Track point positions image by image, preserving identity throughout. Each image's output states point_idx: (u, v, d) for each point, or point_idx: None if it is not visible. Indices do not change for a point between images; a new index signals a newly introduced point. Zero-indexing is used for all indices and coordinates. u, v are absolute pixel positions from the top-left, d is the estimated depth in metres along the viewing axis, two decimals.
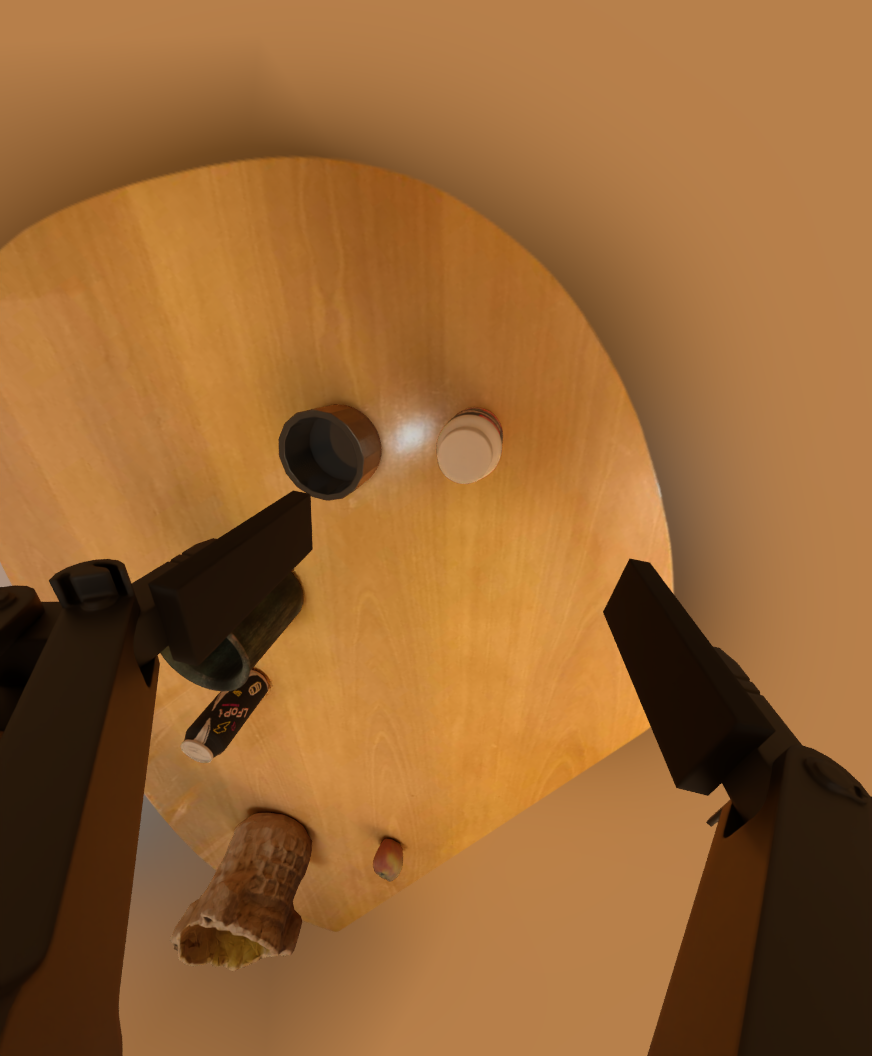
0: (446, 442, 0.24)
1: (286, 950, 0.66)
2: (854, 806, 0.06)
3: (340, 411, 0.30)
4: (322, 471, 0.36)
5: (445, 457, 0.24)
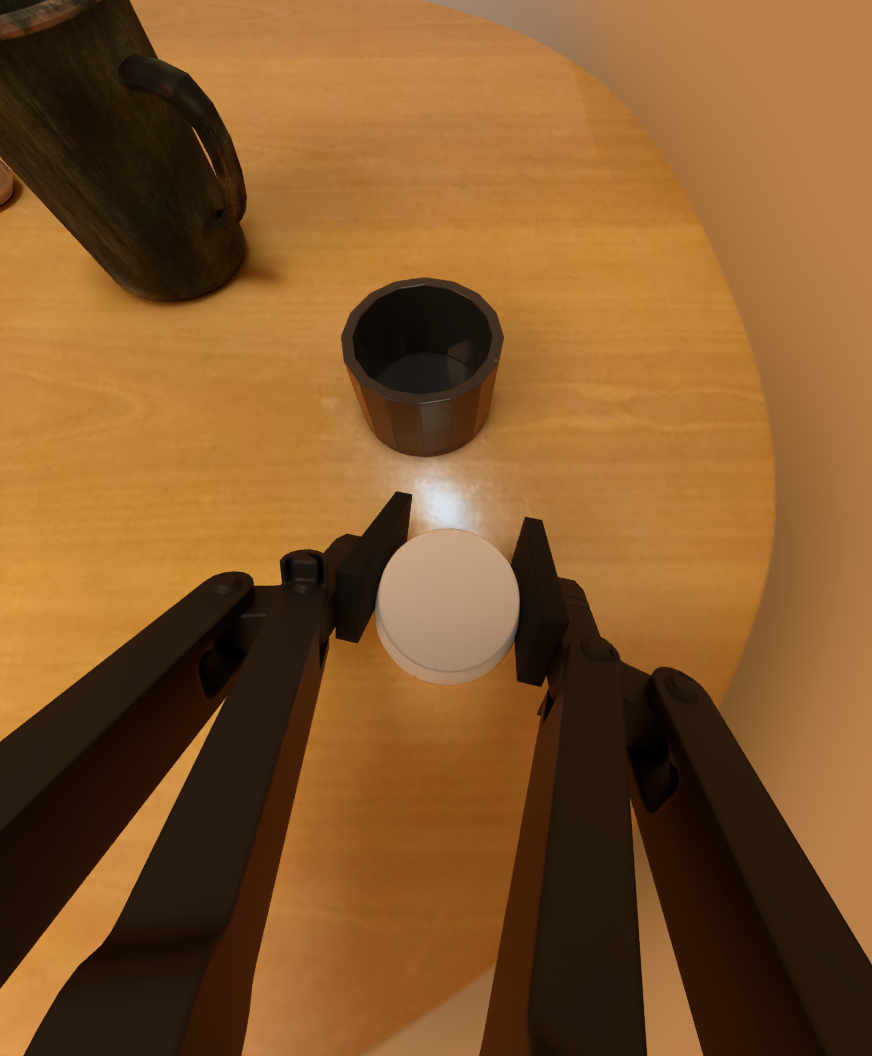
0: (485, 551, 0.10)
1: None
2: (609, 663, 0.08)
3: (492, 387, 0.18)
4: (387, 361, 0.22)
5: (448, 548, 0.10)
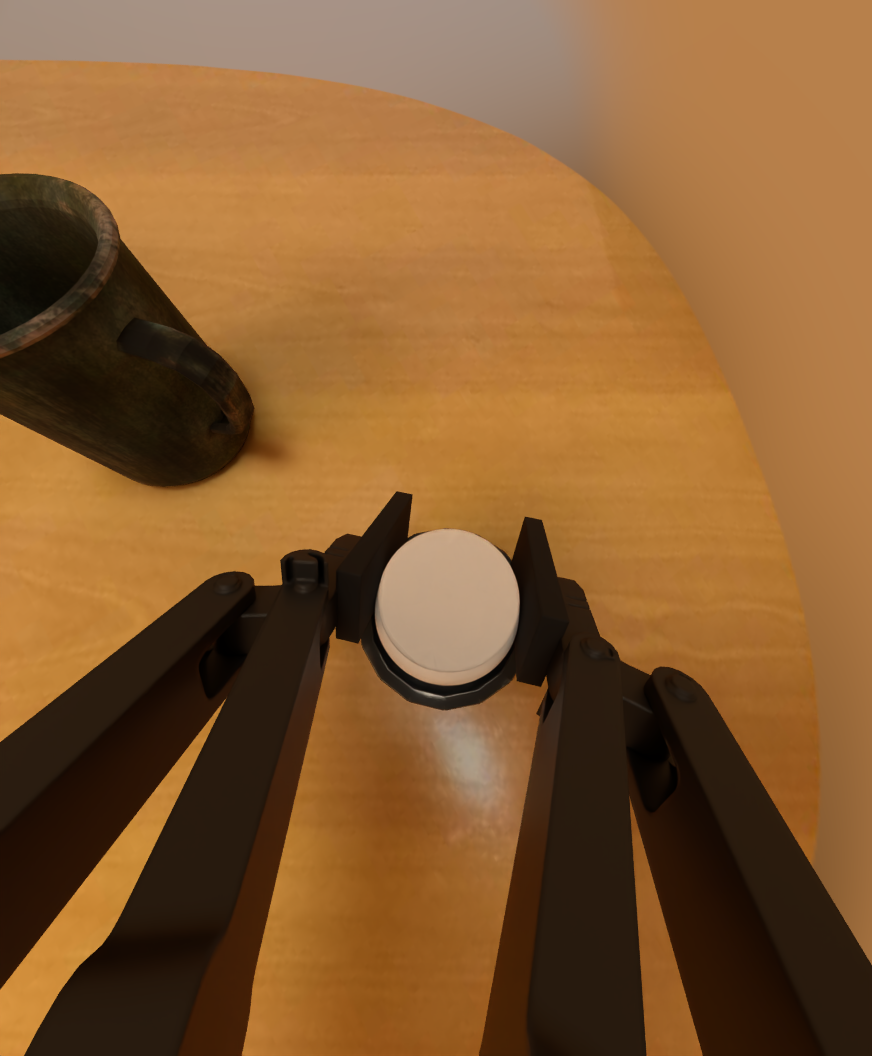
0: (485, 551, 0.10)
1: None
2: (608, 663, 0.08)
3: None
4: None
5: (448, 548, 0.10)
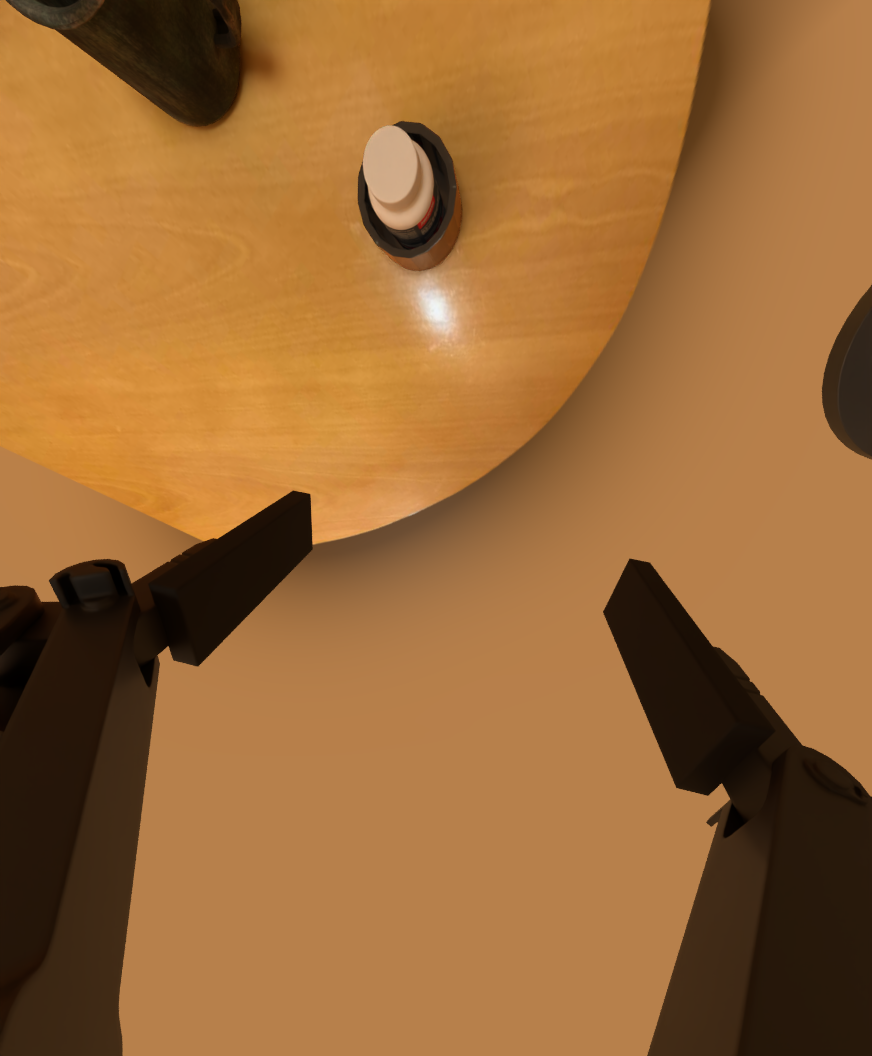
0: (402, 137, 0.23)
1: None
2: (854, 806, 0.06)
3: (455, 222, 0.29)
4: None
5: (387, 138, 0.23)
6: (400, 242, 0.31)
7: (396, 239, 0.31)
